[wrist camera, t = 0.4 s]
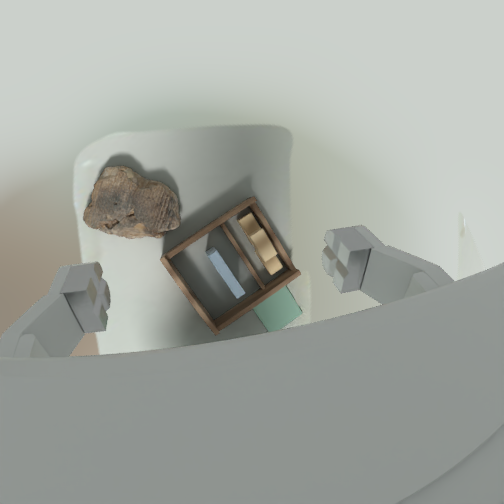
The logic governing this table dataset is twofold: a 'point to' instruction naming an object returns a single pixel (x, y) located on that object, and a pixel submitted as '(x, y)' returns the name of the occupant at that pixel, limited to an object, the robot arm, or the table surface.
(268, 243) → the offcut top
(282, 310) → the pad
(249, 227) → the offcut
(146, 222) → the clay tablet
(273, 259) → the offcut
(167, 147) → the table surface
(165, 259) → the rack
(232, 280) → the sheet
